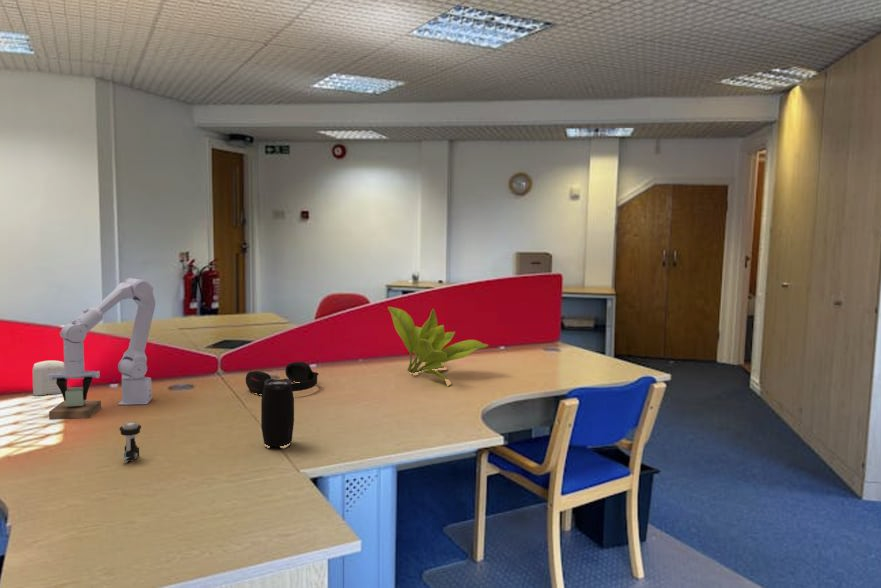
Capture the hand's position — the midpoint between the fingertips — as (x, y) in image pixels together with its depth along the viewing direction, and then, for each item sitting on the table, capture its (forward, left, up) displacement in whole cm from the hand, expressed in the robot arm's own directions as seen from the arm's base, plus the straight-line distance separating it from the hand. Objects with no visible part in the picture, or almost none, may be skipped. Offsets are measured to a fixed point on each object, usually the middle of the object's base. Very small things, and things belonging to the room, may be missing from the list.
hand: (75, 399), depth 216 cm
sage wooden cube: (0, 0, -2) cm, 2 cm away
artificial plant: (-128, -40, -5) cm, 134 cm away
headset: (-66, -27, -5) cm, 72 cm away
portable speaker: (-67, +39, -5) cm, 78 cm away
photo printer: (+17, -26, -5) cm, 31 cm away
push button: (-28, +46, -5) cm, 54 cm away
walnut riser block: (0, 0, -5) cm, 5 cm away
